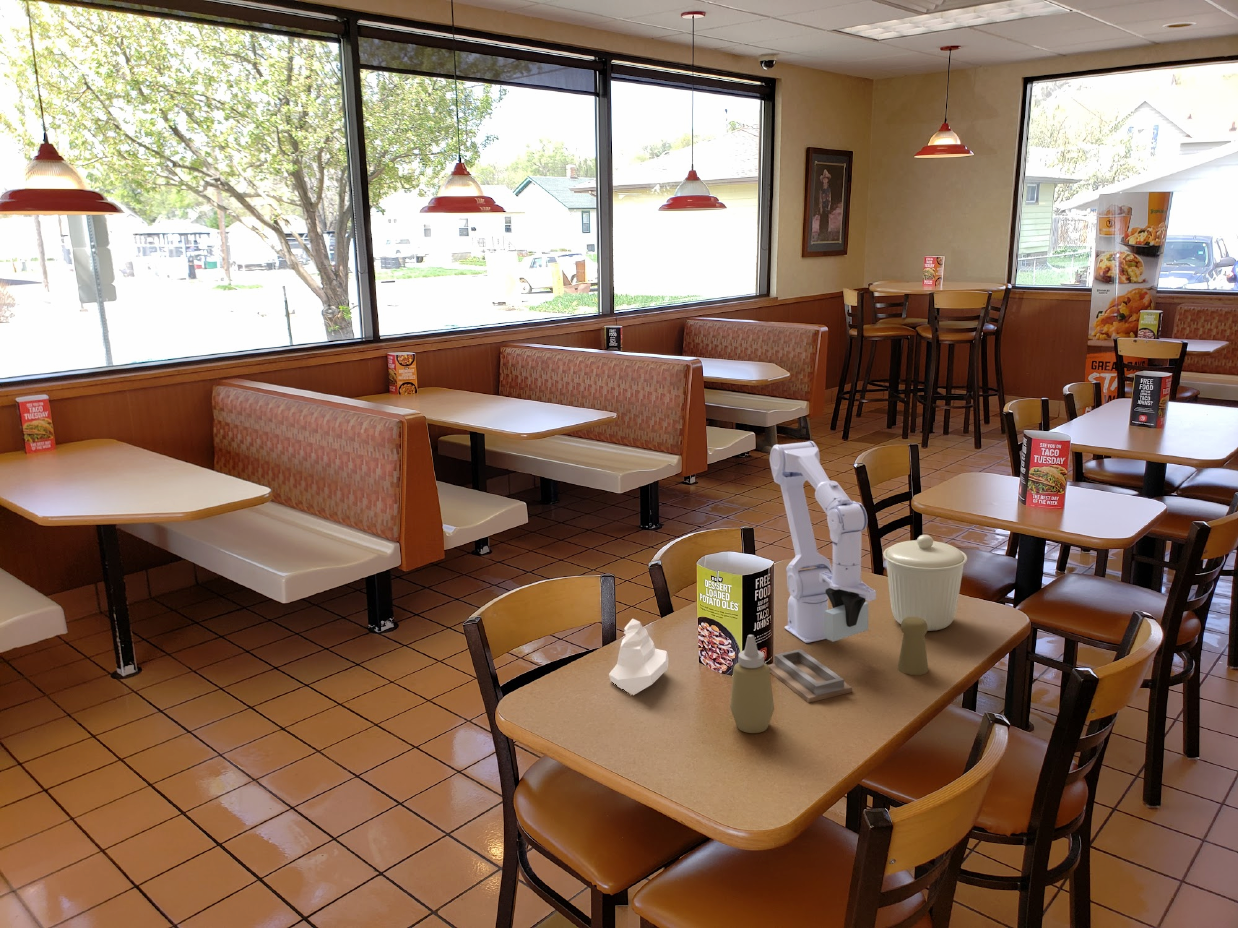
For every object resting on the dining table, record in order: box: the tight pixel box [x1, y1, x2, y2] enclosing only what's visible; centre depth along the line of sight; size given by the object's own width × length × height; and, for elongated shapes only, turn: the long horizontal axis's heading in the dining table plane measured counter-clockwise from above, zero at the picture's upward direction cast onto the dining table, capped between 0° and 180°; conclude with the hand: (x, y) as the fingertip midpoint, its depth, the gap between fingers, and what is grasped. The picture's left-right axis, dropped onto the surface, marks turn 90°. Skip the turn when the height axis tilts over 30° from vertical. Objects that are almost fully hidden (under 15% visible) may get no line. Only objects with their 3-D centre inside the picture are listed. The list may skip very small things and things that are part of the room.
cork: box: [897, 617, 929, 676], centre depth 188 cm, size 6×6×11 cm
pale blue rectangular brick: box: [824, 601, 870, 643], centre depth 191 cm, size 10×2×6 cm, turn 120°
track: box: [767, 648, 853, 703], centre depth 186 cm, size 16×10×3 cm, turn 21°
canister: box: [882, 534, 968, 632], centre depth 209 cm, size 18×18×21 cm
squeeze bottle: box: [729, 634, 775, 734], centre depth 167 cm, size 8×8×18 cm
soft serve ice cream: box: [608, 618, 670, 696], centre depth 188 cm, size 12×15×14 cm
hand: (846, 622), depth 191 cm, fingers closed on pale blue rectangular brick, 2 cm apart
